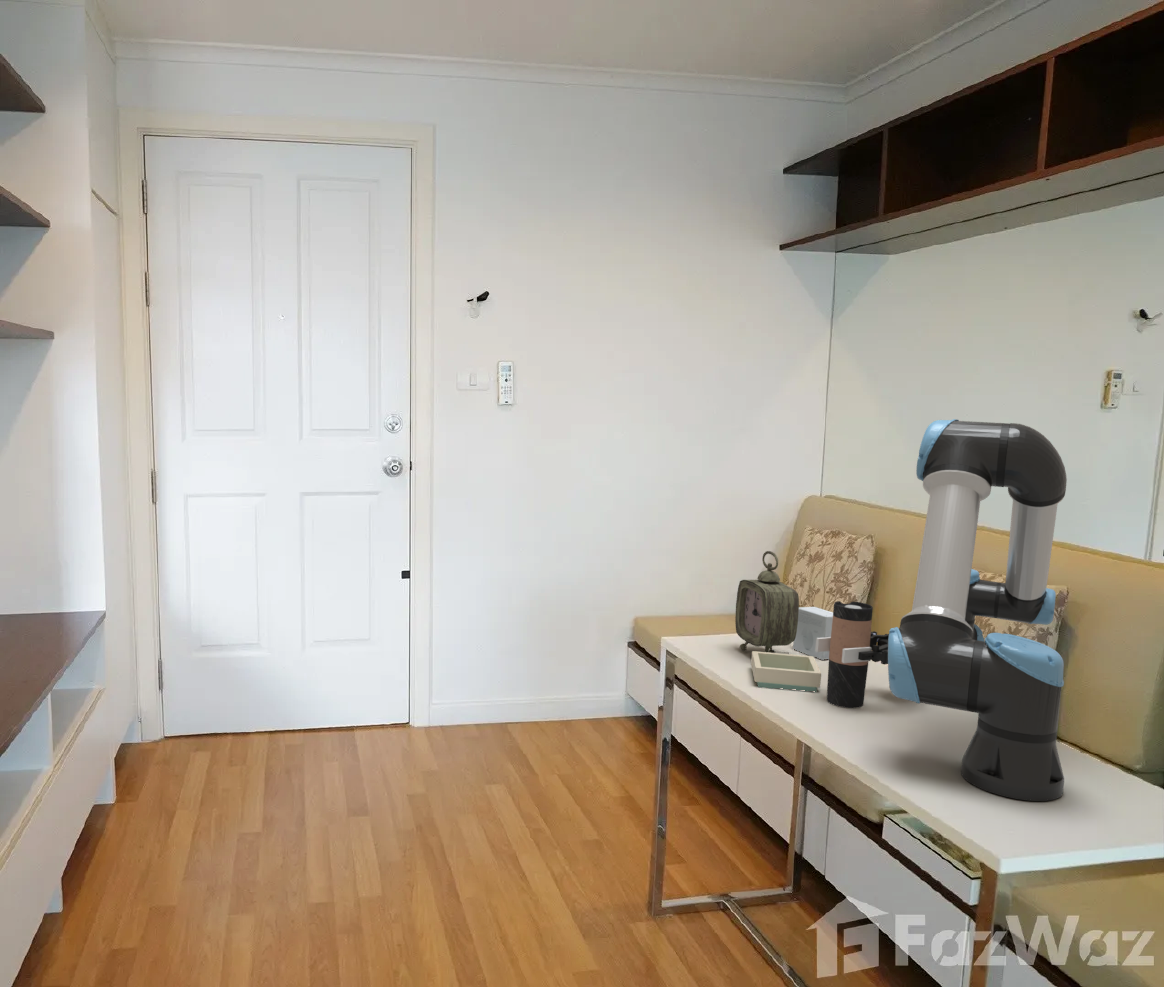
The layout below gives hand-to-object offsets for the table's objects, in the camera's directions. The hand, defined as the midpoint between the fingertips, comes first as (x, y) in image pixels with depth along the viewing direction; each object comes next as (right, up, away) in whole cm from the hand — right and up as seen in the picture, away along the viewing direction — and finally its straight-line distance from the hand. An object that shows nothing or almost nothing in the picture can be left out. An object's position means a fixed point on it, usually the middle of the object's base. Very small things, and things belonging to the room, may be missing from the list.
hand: (830, 650), depth 186 cm
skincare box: (+7, -8, +40) cm, 41 cm away
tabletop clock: (-6, -7, +34) cm, 36 cm away
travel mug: (+4, -11, +3) cm, 12 cm away
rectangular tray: (-5, -9, +18) cm, 21 cm away
